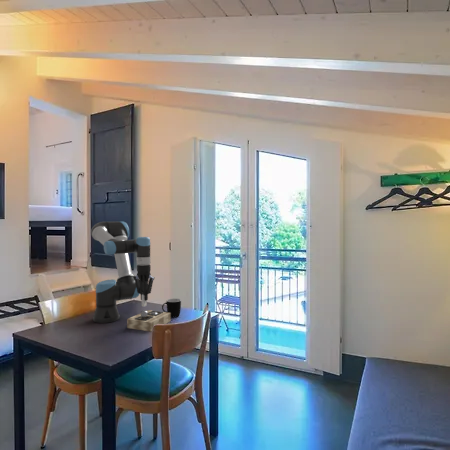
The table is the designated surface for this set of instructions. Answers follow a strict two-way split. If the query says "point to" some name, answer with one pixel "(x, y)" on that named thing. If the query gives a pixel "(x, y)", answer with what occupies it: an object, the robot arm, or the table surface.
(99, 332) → the table surface
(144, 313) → the peg near
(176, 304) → the mug
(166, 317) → the socket block
